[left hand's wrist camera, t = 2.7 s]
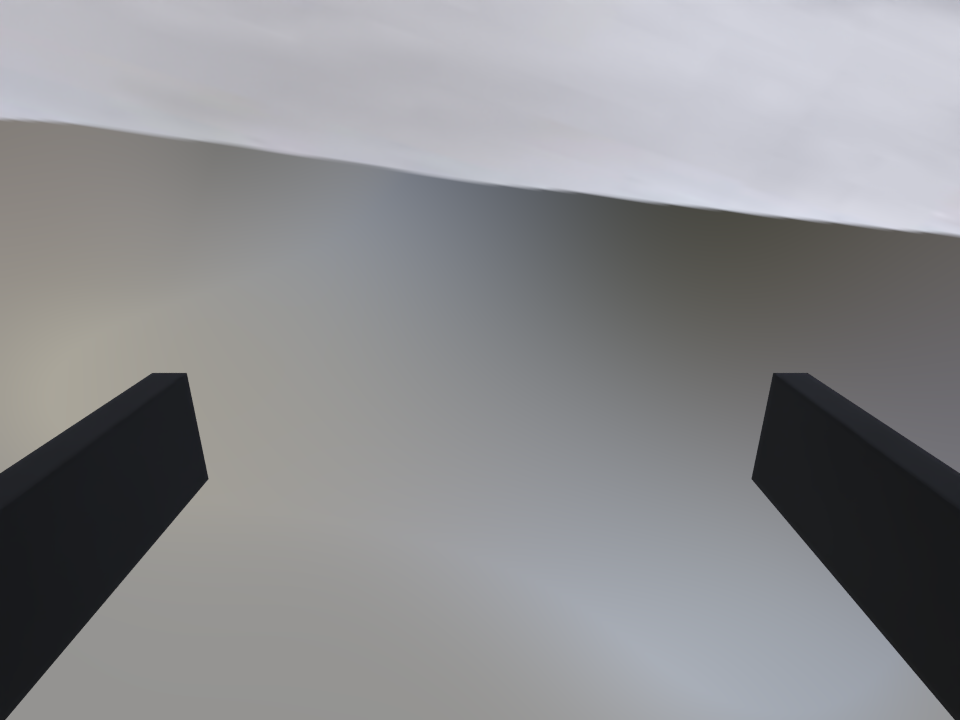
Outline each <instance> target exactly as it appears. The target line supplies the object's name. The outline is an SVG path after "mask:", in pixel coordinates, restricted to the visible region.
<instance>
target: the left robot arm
mask: <svg viewBox="0 0 960 720" xmlns="http://www.w3.org/2000/svg"><path fill="white" fill-rule="evenodd" d="M207 480H208V475H207V470H206V465H205V460H204V455H203V450H202V445H201V440H200V436H199V431H198V426H197V421H196V416H195V411H194V406H193V402H192V397H191V392H190V387H189V382H188V377H187V373H152V374H150V375H149V376H147V377H146V378H144V379H143V380H141V381H140V382H138V383H137V384H135V385H134V386H132V387H131V388H129V389H128V390H126V391H125V392H123V393H121V394H120V395H118V396H117V397H115V398H114V399H112V400H111V401H109V402H108V403H106V404H105V405H103V406H102V407H100V408H99V409H97V410H96V411H94V412H93V413H91V414H90V415H88V416H87V417H85V418H84V419H82V420H81V421H79V422H78V423H76V424H75V425H73V426H71V427H70V428H68V429H67V430H65V431H64V432H62V433H61V434H59V435H58V436H56V437H55V438H53V439H52V440H50V441H49V442H47V443H46V444H44V445H43V446H41V447H40V448H38V449H37V450H35V451H34V452H32V453H30V454H29V455H27V456H26V457H24V458H23V459H21V460H20V461H18V462H17V463H15V464H14V465H12V466H11V467H9V468H8V469H6V470H5V471H3V472H2V473H0V720H5V719H6V718H7V717H8V716H9V715H10V713H11V712H12V711H13V710H14V709H15V708H16V706H17V705H18V704H19V703H20V702H21V700H22V699H23V698H24V697H25V696H26V695H27V693H28V692H29V691H30V690H31V689H32V687H33V686H34V685H35V684H36V683H37V681H38V680H39V679H40V678H41V677H42V676H43V674H44V673H45V672H46V671H47V670H48V668H49V667H50V666H51V665H52V664H53V662H54V661H55V660H56V659H57V658H58V657H59V655H60V654H61V653H62V652H63V651H64V649H65V648H66V647H67V646H68V645H69V644H70V642H71V641H72V640H73V639H74V638H75V636H76V635H77V634H78V633H79V632H80V631H81V629H82V628H83V627H84V626H85V625H86V623H87V622H88V621H89V620H90V619H91V617H92V616H93V615H94V614H95V613H96V612H97V610H98V609H99V608H100V607H101V606H102V604H103V603H104V602H105V601H106V600H107V598H108V597H109V596H110V595H111V594H112V593H113V591H114V590H115V589H116V588H117V587H118V585H119V584H120V583H121V582H122V581H123V580H124V578H125V577H126V576H127V575H128V574H129V572H130V571H131V570H132V569H133V568H134V567H135V565H136V564H137V563H138V562H139V561H140V559H141V558H142V557H143V556H144V555H145V554H146V552H147V551H148V550H149V549H150V548H151V546H152V545H153V544H154V543H155V542H156V540H157V539H158V538H159V537H160V536H161V535H162V533H163V532H164V531H165V530H166V529H167V527H168V526H169V525H170V524H171V523H172V521H173V520H174V519H175V518H176V517H177V516H178V514H179V513H180V512H181V511H182V510H183V508H184V507H185V506H186V505H187V504H188V503H189V501H190V500H191V499H192V498H193V497H194V495H195V494H196V493H197V492H198V491H199V490H200V488H201V487H202V486H203V485H204V484H205V482H206V481H207ZM752 480H753V481H754V482H755V484H756V485H757V486H758V487H759V488H760V490H761V491H762V492H763V493H764V494H765V495H766V497H767V498H768V499H769V500H770V501H771V503H772V504H773V505H774V506H775V507H776V508H777V510H778V511H779V512H780V513H781V514H782V516H783V517H784V518H785V519H786V520H787V522H788V523H789V524H790V525H791V526H792V527H793V529H794V530H795V531H796V532H797V533H798V535H799V536H800V537H801V538H802V539H803V540H804V542H805V543H806V544H807V545H808V546H809V548H810V549H811V550H812V551H813V552H814V553H815V555H816V556H817V557H818V558H819V559H820V561H821V562H822V563H823V564H824V565H825V567H826V568H827V569H828V570H829V571H830V572H831V574H832V575H833V576H834V577H835V578H836V580H837V581H838V582H839V583H840V584H841V585H842V587H843V588H844V589H845V590H846V591H847V593H848V594H849V595H850V596H851V597H852V598H853V600H854V601H855V602H856V603H857V604H858V606H859V607H860V608H861V609H862V610H863V612H864V613H865V614H866V615H867V616H868V617H869V619H870V620H871V621H872V622H873V623H874V625H875V626H876V627H877V628H878V629H879V630H880V632H881V633H882V634H883V635H884V636H885V638H886V639H887V640H888V641H889V642H890V644H891V645H892V646H893V647H894V648H895V649H896V651H897V652H898V653H899V654H900V655H901V657H902V658H903V659H904V660H905V661H906V663H907V664H908V665H909V666H910V667H911V668H912V670H913V671H914V672H915V673H916V674H917V676H918V677H919V678H920V679H921V680H922V681H923V683H924V684H925V685H926V686H927V687H928V689H929V690H930V691H931V692H932V693H933V695H934V696H935V697H936V698H937V699H938V700H939V702H940V703H941V704H942V705H943V706H944V708H945V709H946V710H947V711H948V712H949V713H950V715H951V716H952V717H953V718H954V719H955V720H960V473H958V472H957V471H955V470H954V469H952V468H951V467H949V466H948V465H946V464H945V463H943V462H942V461H940V460H939V459H937V458H935V457H934V456H933V455H931V454H929V453H928V452H926V451H925V450H923V449H922V448H920V447H919V446H917V445H916V444H914V443H913V442H911V441H910V440H908V439H907V438H905V437H904V436H902V435H901V434H899V433H898V432H896V431H895V430H893V429H892V428H890V427H889V426H887V425H886V424H884V423H882V422H881V421H879V420H878V419H876V418H875V417H873V416H872V415H870V414H869V413H867V412H866V411H864V410H863V409H861V408H860V407H858V406H857V405H855V404H854V403H852V402H851V401H849V400H848V399H846V398H845V397H843V396H842V395H840V394H839V393H837V392H835V391H834V390H832V389H831V388H829V387H828V386H826V385H825V384H823V383H822V382H820V381H819V380H817V379H816V378H814V377H813V376H811V375H810V374H808V373H773V377H772V382H771V387H770V392H769V397H768V402H767V406H766V411H765V416H764V421H763V426H762V431H761V436H760V441H759V445H758V450H757V455H756V460H755V465H754V470H753V475H752Z"/></svg>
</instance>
